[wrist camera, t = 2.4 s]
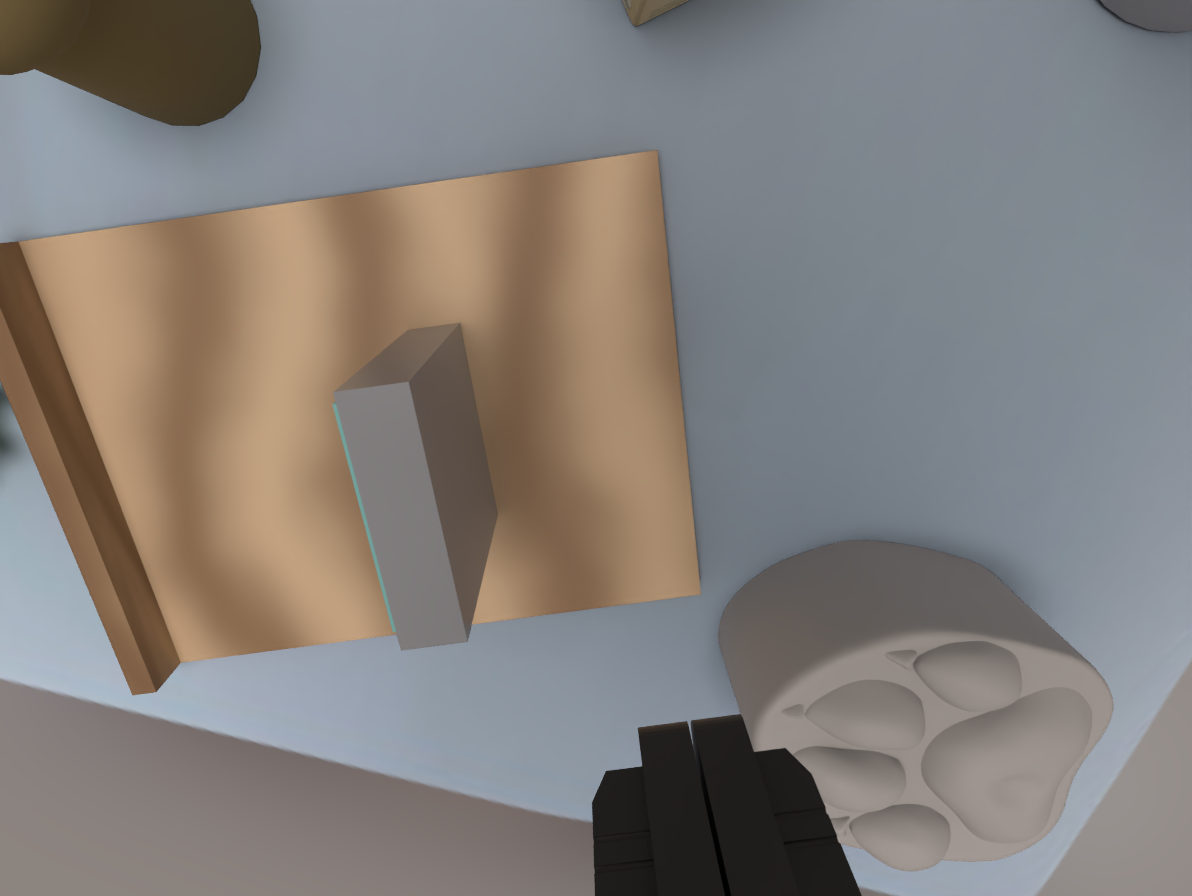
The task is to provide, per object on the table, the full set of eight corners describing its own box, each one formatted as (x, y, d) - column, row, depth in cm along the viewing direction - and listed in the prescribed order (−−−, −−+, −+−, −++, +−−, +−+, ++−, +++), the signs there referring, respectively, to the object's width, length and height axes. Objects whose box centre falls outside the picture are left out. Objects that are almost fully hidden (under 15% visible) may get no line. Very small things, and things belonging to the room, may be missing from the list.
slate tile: (460, 322, 27) (408, 381, 19) (498, 514, 30) (467, 642, 22) (401, 330, 28) (323, 393, 19) (443, 521, 30) (392, 651, 22)
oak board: (654, 151, 27) (663, 146, 24) (697, 582, 33) (708, 620, 30) (11, 243, 27) (-55, 249, 24) (170, 651, 33) (132, 695, 30)
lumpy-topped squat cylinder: (947, 748, 36) (1056, 911, 28) (693, 711, 35) (729, 870, 27) (1028, 564, 33) (1177, 689, 25) (749, 517, 32) (810, 631, 24)
